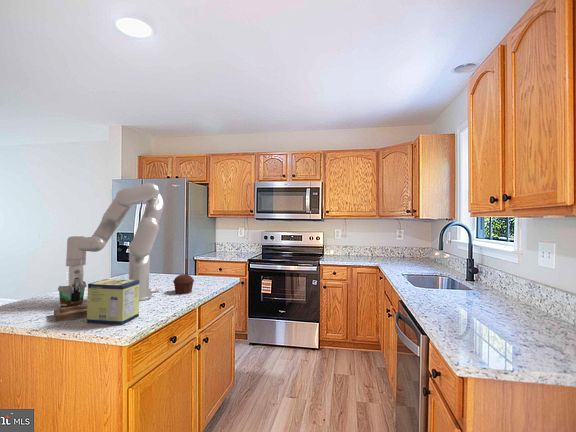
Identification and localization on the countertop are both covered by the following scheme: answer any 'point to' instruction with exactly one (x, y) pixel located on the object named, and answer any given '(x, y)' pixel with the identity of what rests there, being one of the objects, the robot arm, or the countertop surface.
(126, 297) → the protein box
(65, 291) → the food container
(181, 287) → the muffin
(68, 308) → the base plate
